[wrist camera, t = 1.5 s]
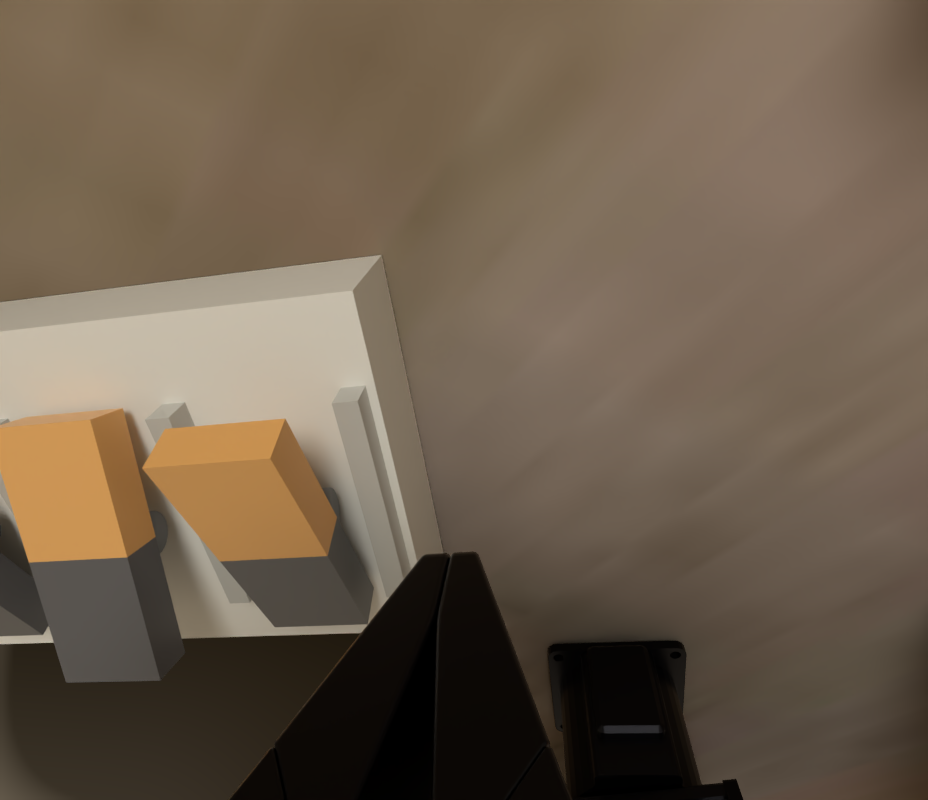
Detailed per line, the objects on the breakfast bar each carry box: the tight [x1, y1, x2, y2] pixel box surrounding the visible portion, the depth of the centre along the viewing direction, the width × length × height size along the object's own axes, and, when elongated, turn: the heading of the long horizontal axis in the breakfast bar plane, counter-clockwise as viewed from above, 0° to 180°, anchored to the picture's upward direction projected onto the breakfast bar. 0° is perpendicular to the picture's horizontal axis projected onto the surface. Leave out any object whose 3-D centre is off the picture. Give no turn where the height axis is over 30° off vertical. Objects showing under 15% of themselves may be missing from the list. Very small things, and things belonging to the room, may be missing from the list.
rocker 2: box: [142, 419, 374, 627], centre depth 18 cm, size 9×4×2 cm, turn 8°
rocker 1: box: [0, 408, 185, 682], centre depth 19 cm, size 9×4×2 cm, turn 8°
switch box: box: [0, 255, 444, 644], centre depth 22 cm, size 14×20×5 cm
